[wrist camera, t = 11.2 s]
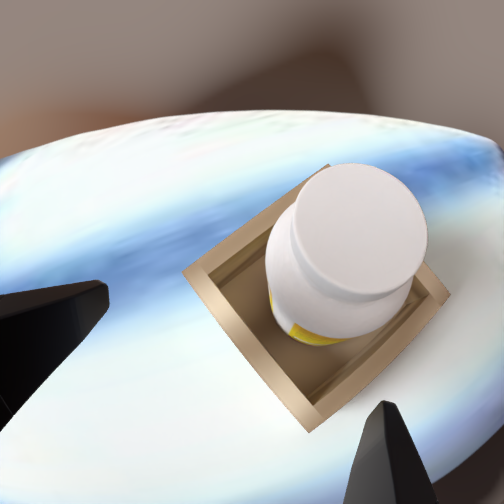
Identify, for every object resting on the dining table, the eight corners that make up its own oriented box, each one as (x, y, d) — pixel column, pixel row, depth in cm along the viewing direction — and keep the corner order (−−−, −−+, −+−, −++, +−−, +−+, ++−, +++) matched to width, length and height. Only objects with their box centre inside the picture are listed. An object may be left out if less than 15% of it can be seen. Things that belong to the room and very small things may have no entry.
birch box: (421, 306, 20) (450, 294, 16) (302, 417, 19) (308, 433, 14) (321, 195, 24) (328, 163, 20) (199, 288, 23) (181, 271, 18)
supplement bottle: (377, 312, 20) (482, 253, 8) (302, 365, 19) (341, 377, 7) (327, 240, 22) (370, 119, 10) (252, 286, 22) (222, 193, 10)
